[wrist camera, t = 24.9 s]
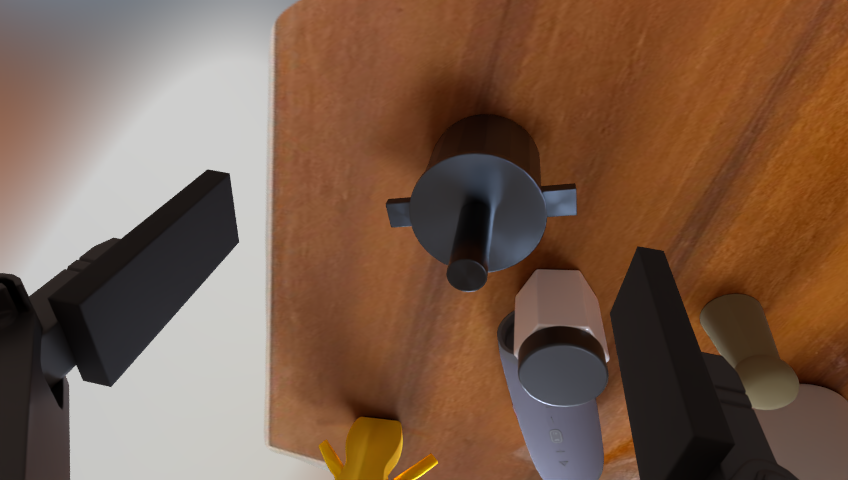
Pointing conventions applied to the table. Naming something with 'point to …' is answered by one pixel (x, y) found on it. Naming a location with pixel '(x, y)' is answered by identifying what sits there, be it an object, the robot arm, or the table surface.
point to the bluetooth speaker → (553, 424)
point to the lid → (477, 215)
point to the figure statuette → (373, 452)
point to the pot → (497, 139)
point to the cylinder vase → (810, 434)
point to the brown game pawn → (750, 350)
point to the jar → (560, 339)
